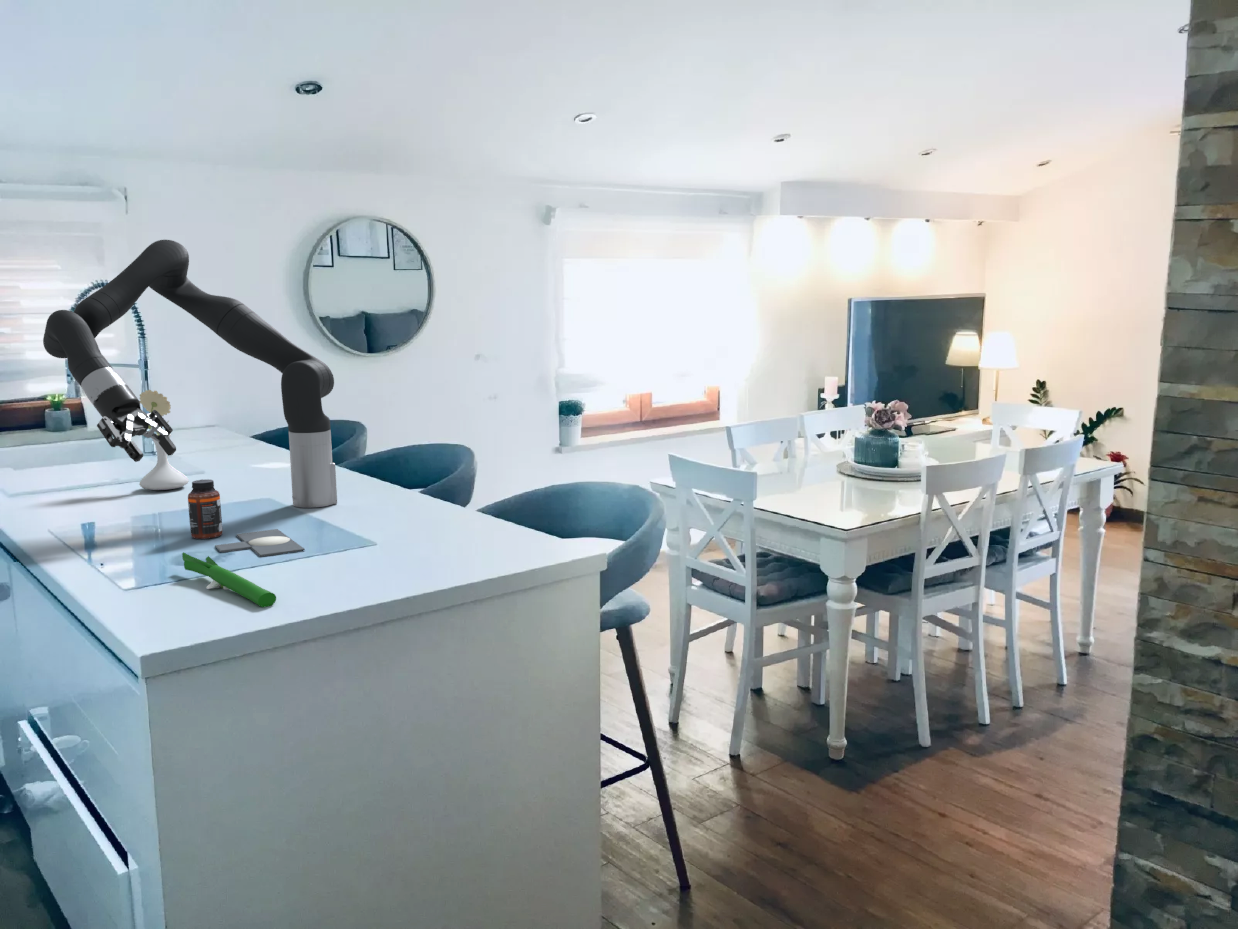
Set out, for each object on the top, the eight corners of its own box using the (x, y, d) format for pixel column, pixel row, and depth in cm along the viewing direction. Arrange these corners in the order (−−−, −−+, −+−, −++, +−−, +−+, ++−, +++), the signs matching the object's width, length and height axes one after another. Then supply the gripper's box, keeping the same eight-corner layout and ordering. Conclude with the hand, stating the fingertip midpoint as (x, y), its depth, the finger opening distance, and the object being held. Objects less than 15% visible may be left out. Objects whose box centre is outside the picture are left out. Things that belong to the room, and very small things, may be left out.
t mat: (277, 530, 202) (277, 528, 202) (304, 550, 185) (304, 548, 185) (207, 539, 195) (207, 537, 195) (229, 561, 178) (229, 558, 178)
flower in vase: (198, 487, 251) (191, 389, 247) (157, 494, 241) (148, 392, 237) (168, 482, 258) (160, 387, 254) (126, 489, 248) (117, 390, 244)
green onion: (279, 609, 153) (197, 565, 173) (278, 589, 152) (196, 547, 173) (249, 617, 150) (169, 570, 170) (248, 596, 149) (167, 552, 169)
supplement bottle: (229, 534, 199) (225, 479, 197) (206, 541, 194) (201, 484, 192) (207, 532, 201) (203, 477, 200) (184, 538, 196) (179, 482, 194)
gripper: (129, 403, 209) (173, 462, 207) (71, 410, 195) (118, 473, 194) (147, 380, 206) (193, 439, 204) (89, 385, 193) (137, 449, 191)
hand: (156, 456), depth 199 cm, fingers open, 8 cm apart
